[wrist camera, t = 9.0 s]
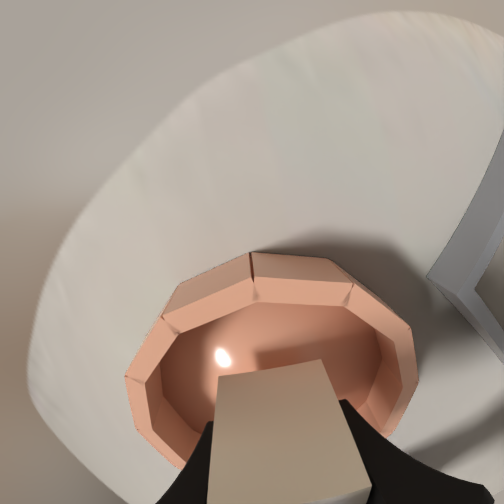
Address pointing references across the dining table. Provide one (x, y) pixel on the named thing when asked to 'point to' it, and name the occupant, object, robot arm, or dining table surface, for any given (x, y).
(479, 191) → the tray
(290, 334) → the bowl
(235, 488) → the sandstone block
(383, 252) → the dining table surface
